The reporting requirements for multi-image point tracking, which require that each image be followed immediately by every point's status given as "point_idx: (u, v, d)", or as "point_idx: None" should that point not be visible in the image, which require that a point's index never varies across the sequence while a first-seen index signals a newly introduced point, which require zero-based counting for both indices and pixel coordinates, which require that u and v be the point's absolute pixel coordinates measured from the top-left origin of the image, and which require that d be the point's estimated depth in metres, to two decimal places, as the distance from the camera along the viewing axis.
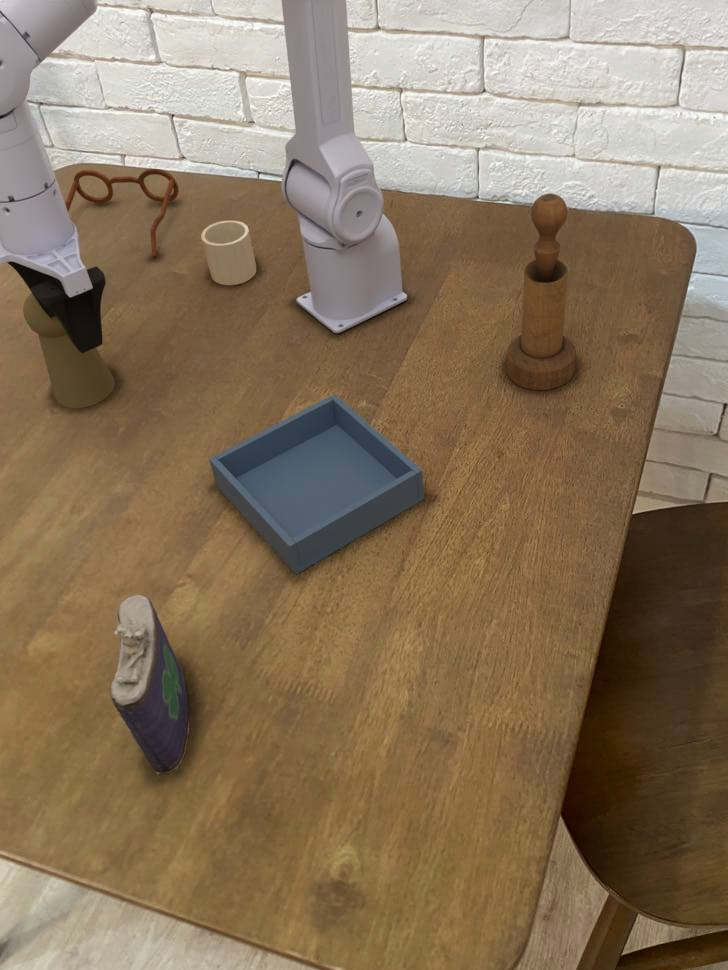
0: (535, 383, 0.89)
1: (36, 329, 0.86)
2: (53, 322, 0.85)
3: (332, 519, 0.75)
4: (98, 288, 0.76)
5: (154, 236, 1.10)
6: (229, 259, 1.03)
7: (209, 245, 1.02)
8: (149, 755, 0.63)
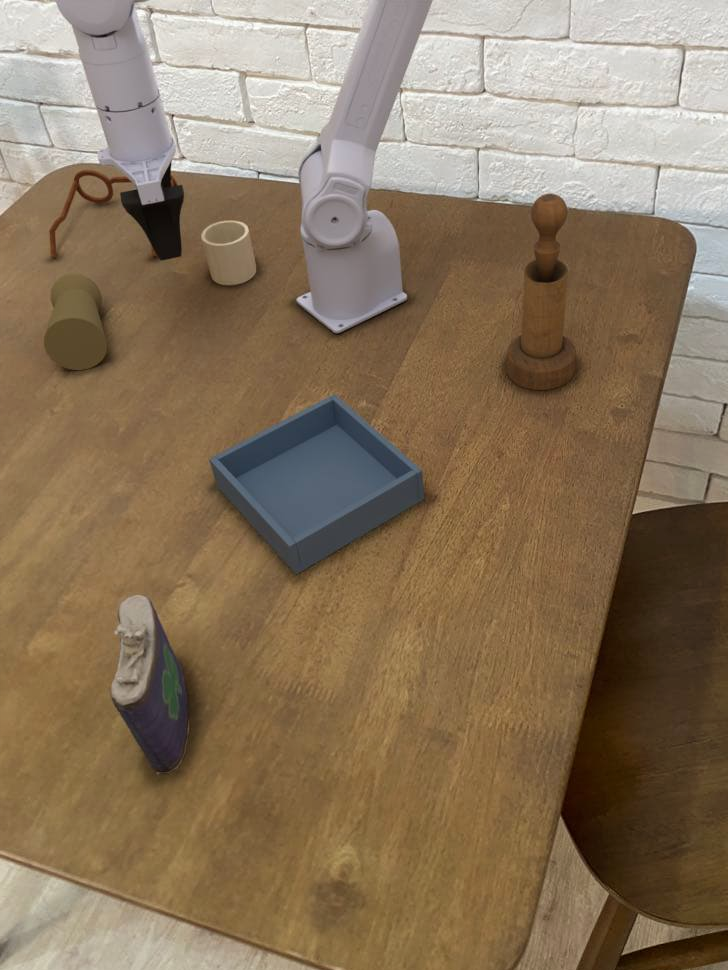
0: (535, 383, 0.89)
1: (55, 285, 0.99)
2: (71, 274, 0.99)
3: (332, 519, 0.75)
4: (175, 204, 0.85)
5: None
6: (229, 259, 1.03)
7: (209, 245, 1.02)
8: (149, 755, 0.63)
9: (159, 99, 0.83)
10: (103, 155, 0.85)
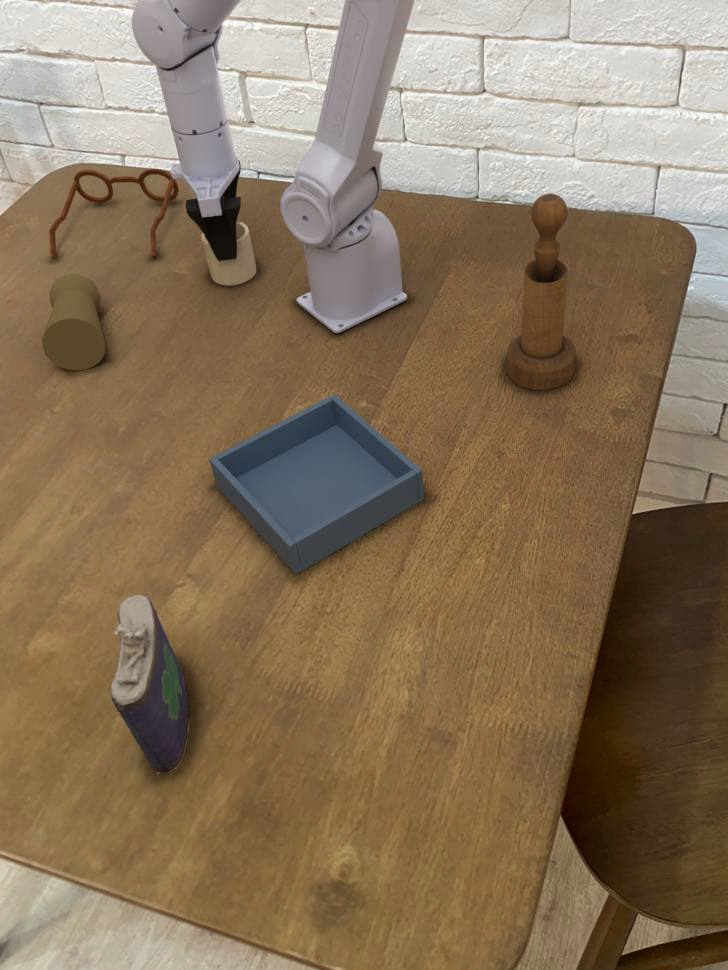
0: (535, 383, 0.89)
1: (53, 287, 0.99)
2: (68, 275, 0.99)
3: (332, 519, 0.75)
4: (232, 214, 0.96)
5: (154, 236, 1.10)
6: None
7: (209, 245, 1.02)
8: (149, 755, 0.63)
9: (226, 125, 0.94)
10: (175, 169, 0.97)
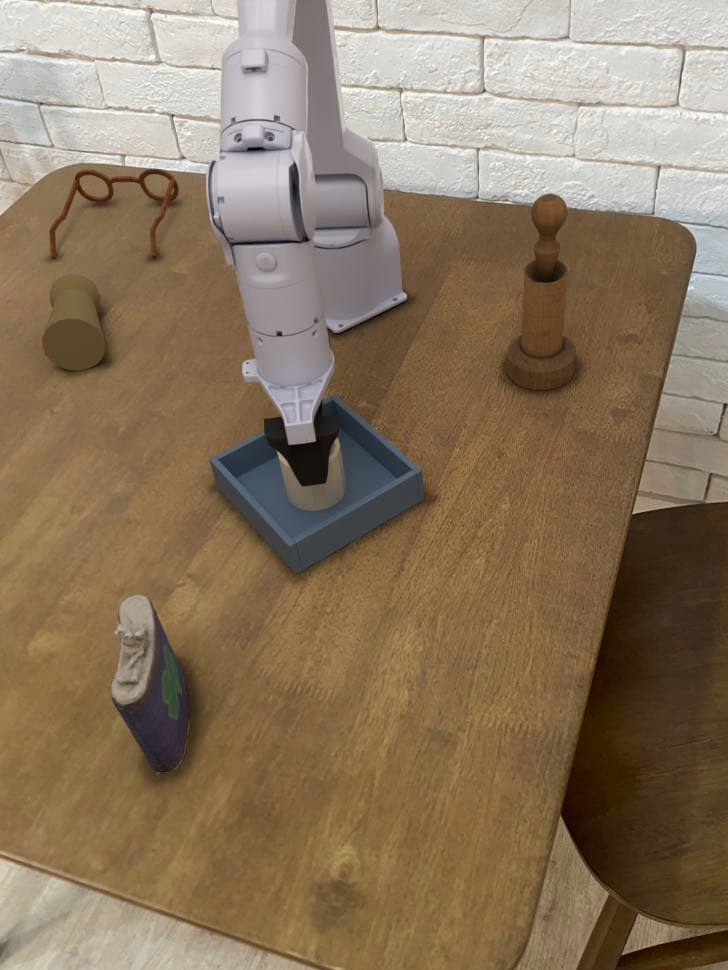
0: (535, 383, 0.89)
1: (53, 287, 0.99)
2: (68, 275, 0.99)
3: (332, 519, 0.75)
4: (328, 440, 0.70)
5: (154, 236, 1.10)
6: None
7: (289, 468, 0.77)
8: (149, 755, 0.63)
9: (323, 318, 0.68)
10: (249, 370, 0.71)
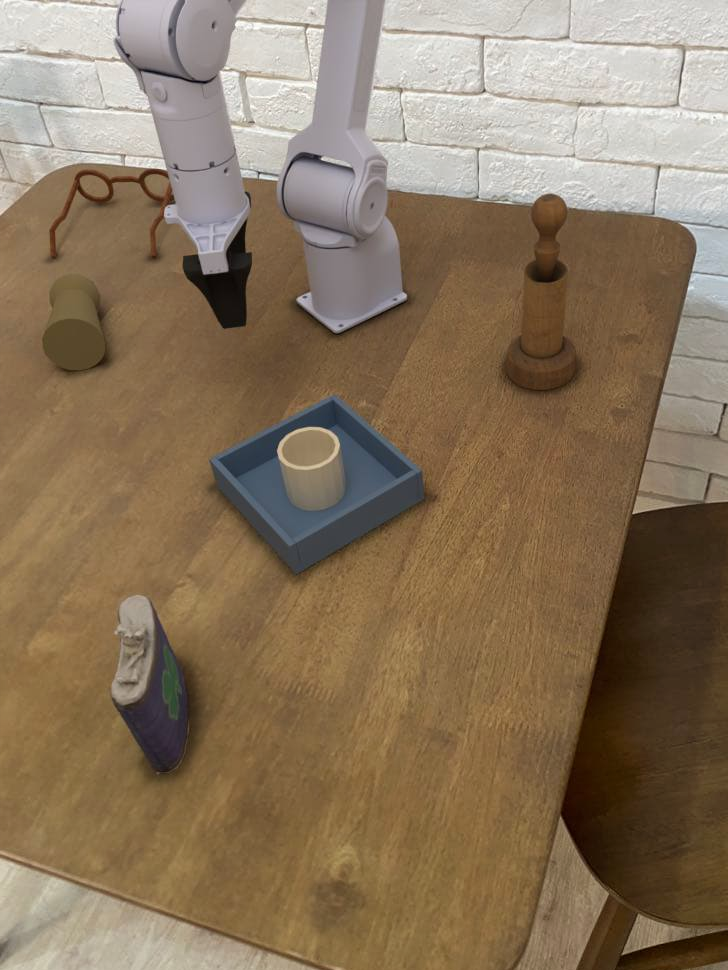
0: (535, 383, 0.89)
1: (53, 287, 0.99)
2: (68, 275, 0.99)
3: (332, 519, 0.75)
4: (241, 274, 0.76)
5: (154, 236, 1.10)
6: (315, 484, 0.78)
7: (289, 468, 0.77)
8: (149, 755, 0.63)
9: (234, 158, 0.74)
10: (170, 212, 0.77)
